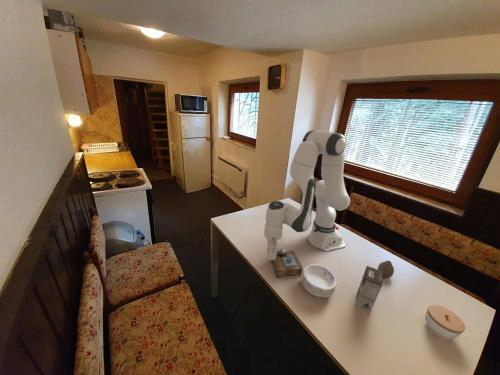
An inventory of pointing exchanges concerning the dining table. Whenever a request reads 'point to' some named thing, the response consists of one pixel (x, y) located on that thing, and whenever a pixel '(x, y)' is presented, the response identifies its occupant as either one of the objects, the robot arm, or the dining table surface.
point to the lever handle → (280, 251)
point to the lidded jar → (444, 322)
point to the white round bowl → (318, 280)
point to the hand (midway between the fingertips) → (270, 254)
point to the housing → (286, 271)
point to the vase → (386, 269)
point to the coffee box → (369, 288)
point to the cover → (289, 261)
